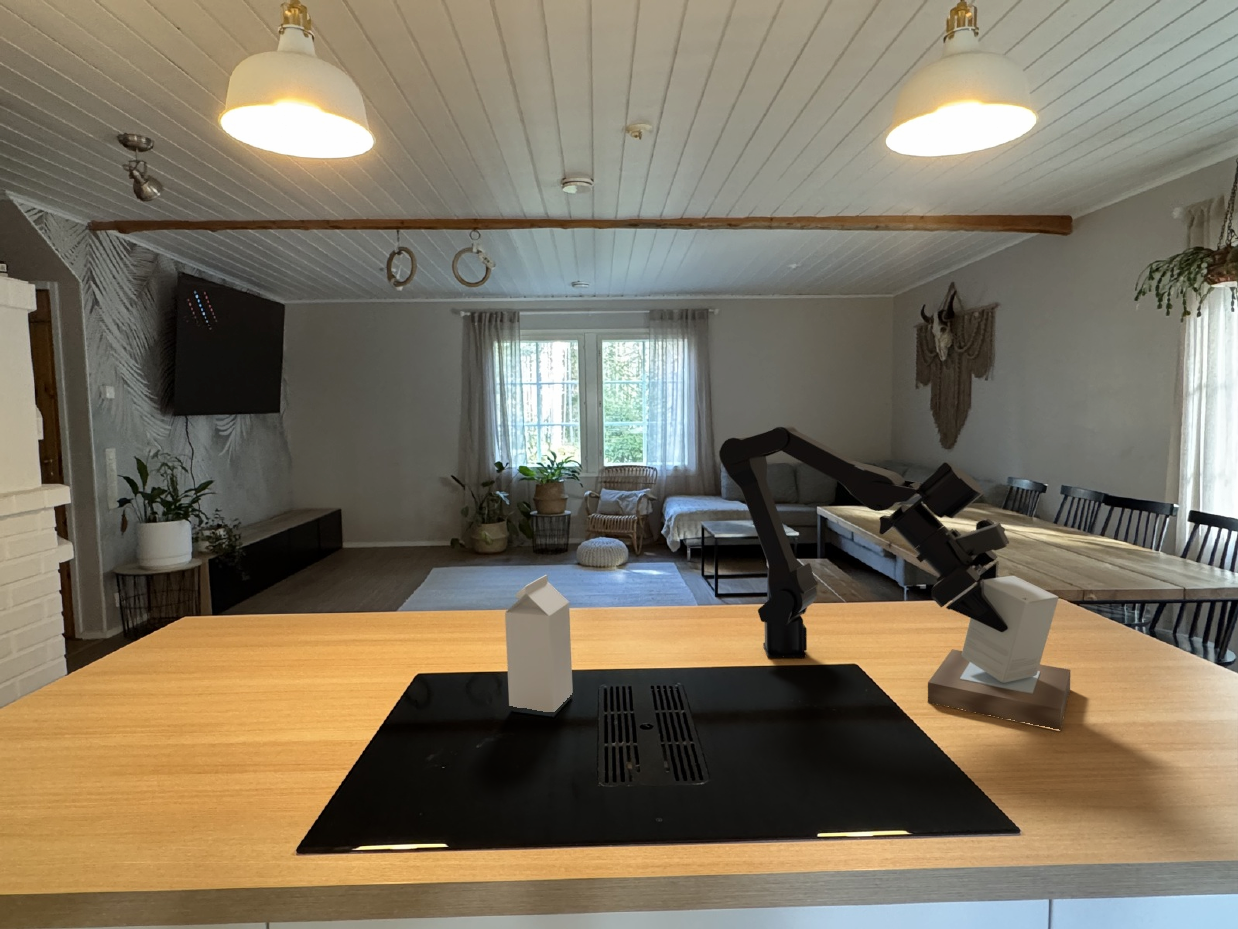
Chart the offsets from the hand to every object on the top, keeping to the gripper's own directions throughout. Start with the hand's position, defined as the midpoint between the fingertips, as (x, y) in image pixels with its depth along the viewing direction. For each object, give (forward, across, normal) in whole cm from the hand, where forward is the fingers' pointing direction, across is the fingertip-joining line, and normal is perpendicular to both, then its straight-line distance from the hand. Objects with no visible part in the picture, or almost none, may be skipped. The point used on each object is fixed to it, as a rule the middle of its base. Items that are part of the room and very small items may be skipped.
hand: (1010, 621), depth 96 cm
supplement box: (+4, 0, +6) cm, 7 cm away
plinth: (+7, 0, +9) cm, 11 cm away
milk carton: (-30, -40, +48) cm, 69 cm away
